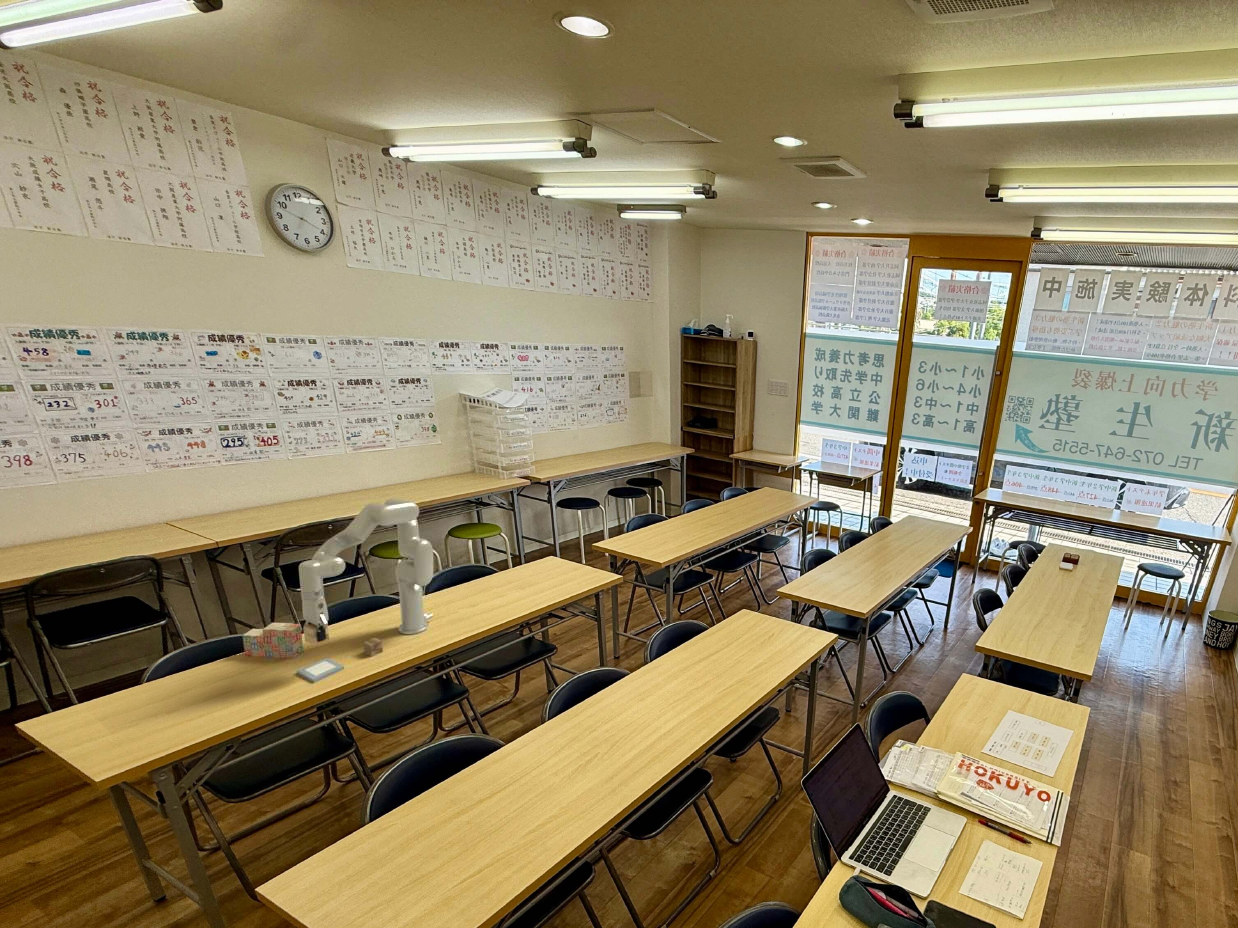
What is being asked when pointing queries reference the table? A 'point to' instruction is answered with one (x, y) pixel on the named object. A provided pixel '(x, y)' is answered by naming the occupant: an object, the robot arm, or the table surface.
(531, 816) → the table surface
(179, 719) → the table surface
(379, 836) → the table surface
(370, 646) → the walnut cube
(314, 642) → the oak block
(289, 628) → the stack of blocks
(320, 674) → the base board
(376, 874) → the table surface
